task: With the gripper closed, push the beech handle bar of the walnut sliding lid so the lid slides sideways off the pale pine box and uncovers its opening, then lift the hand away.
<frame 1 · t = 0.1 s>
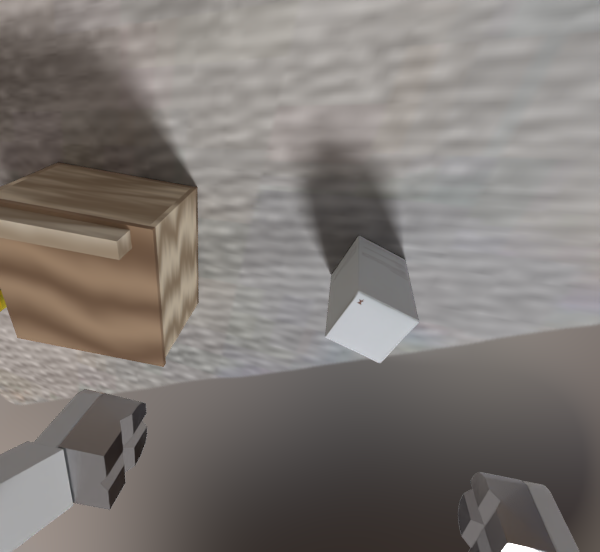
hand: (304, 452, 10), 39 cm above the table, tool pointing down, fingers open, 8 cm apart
supplement box: (367, 267, 51), on the table
supplement bottle: (13, 281, 61), on the table
box: (134, 238, 53), on the table
lid: (71, 295, 42), point 14 cm above the table, slide at 0.0 cm
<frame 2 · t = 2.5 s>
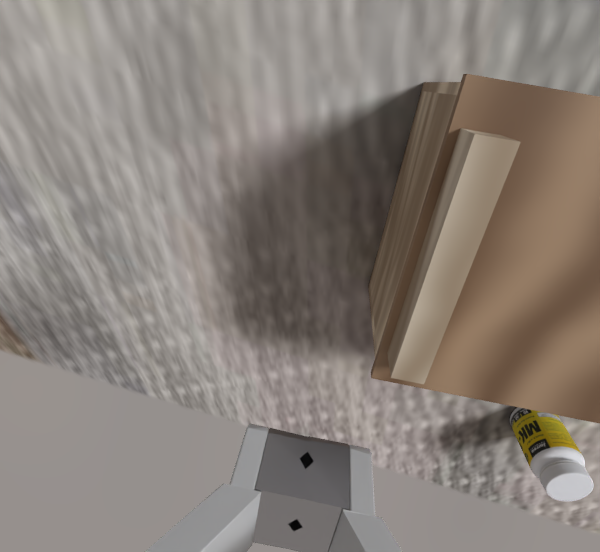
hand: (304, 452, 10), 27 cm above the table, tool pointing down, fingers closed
supplement bottle: (530, 415, 43), on the table
box: (496, 215, 33), on the table
lid: (581, 293, 21), point 14 cm above the table, slide at 0.0 cm
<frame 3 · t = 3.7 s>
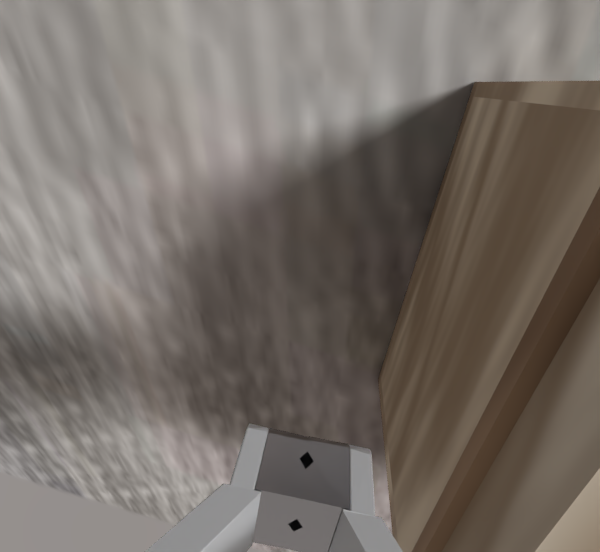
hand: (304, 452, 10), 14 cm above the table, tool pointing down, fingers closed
box: (577, 288, 22), on the table
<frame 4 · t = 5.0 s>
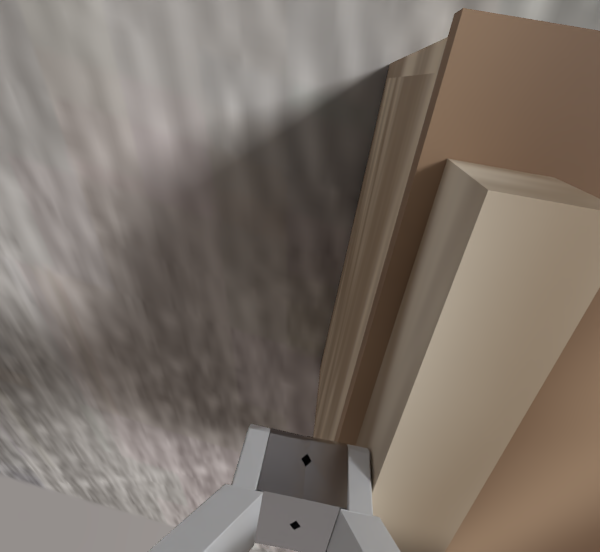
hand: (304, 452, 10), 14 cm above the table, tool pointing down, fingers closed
box: (507, 272, 22), on the table
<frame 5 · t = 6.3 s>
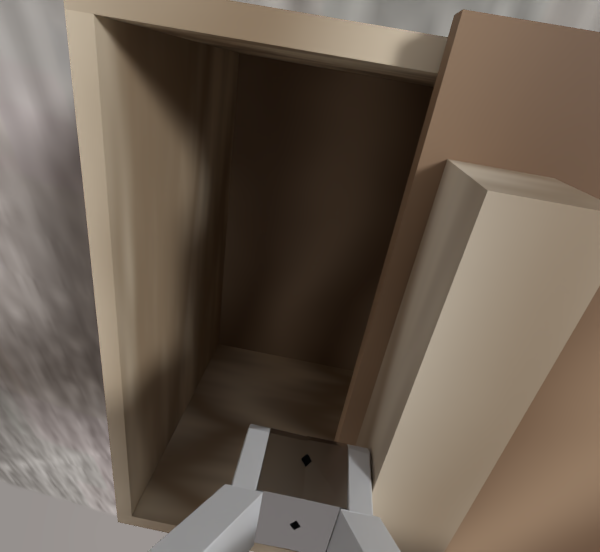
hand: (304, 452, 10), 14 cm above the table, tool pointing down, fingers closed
box: (374, 248, 22), on the table
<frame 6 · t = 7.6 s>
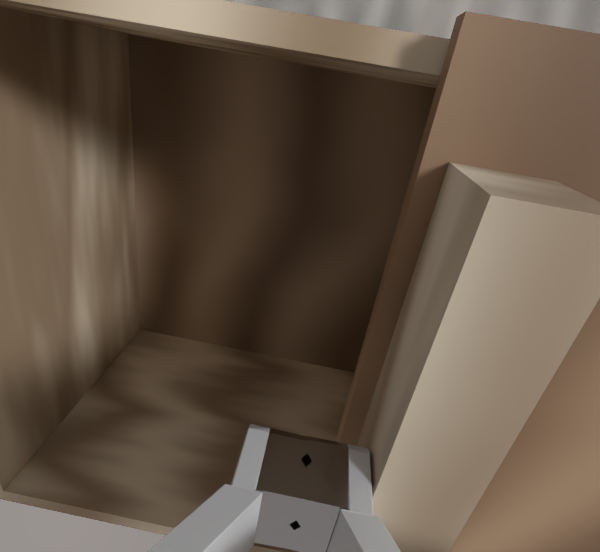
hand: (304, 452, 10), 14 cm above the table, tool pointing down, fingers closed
box: (283, 232, 22), on the table
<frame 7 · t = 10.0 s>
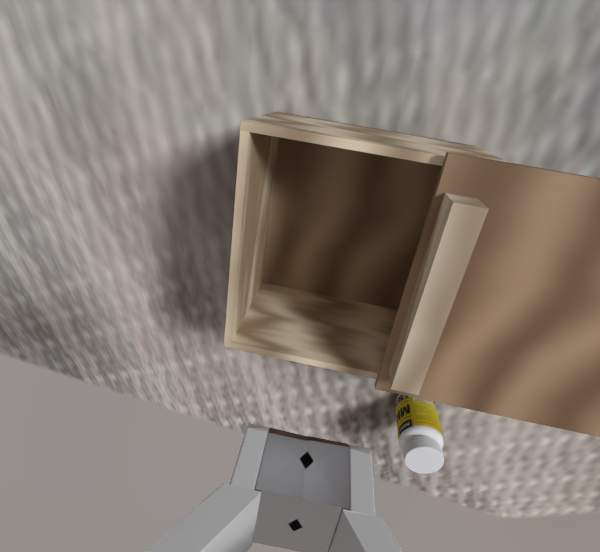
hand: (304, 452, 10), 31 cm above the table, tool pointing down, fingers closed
supplement bottle: (414, 401, 48), on the table
box: (353, 222, 39), on the table
lid: (546, 322, 26), point 14 cm above the table, slide at 13.3 cm
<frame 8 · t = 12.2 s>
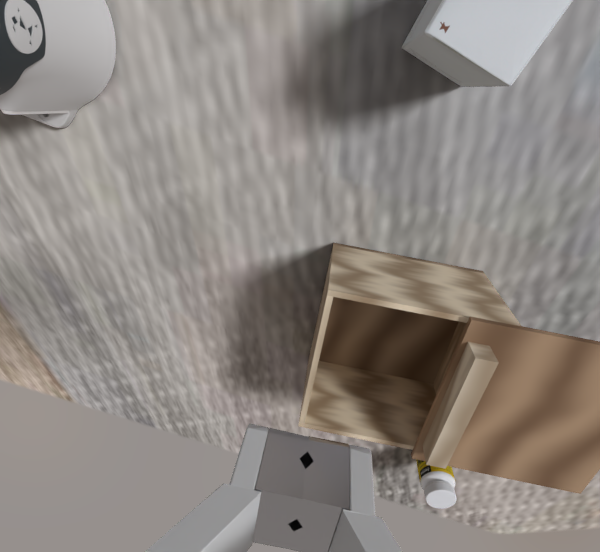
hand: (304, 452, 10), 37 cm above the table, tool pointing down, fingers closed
supplement box: (455, 29, 36), on the table
supplement bottle: (429, 446, 60), on the table
box: (388, 319, 50), on the table
lid: (535, 422, 38), point 14 cm above the table, slide at 13.3 cm
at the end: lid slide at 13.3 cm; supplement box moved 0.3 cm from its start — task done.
